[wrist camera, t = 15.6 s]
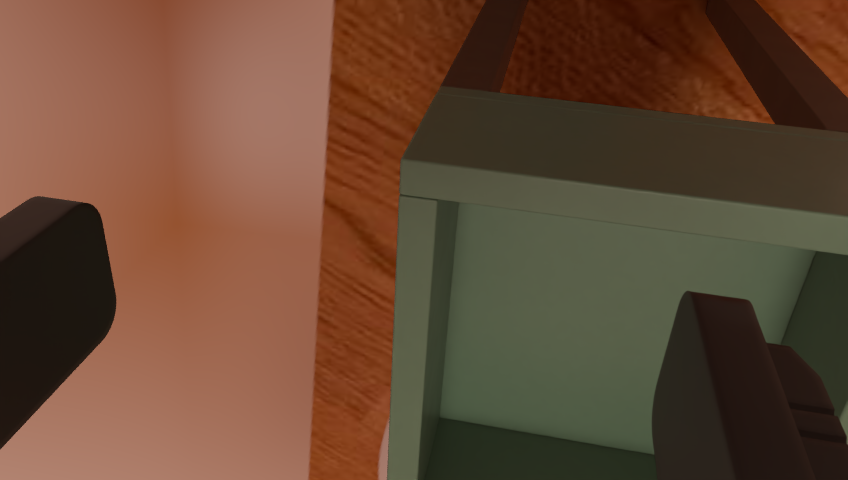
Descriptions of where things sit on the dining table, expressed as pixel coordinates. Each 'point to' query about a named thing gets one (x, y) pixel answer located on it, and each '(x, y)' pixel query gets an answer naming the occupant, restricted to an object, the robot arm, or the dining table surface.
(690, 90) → the dining table surface
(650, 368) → the cabinet
